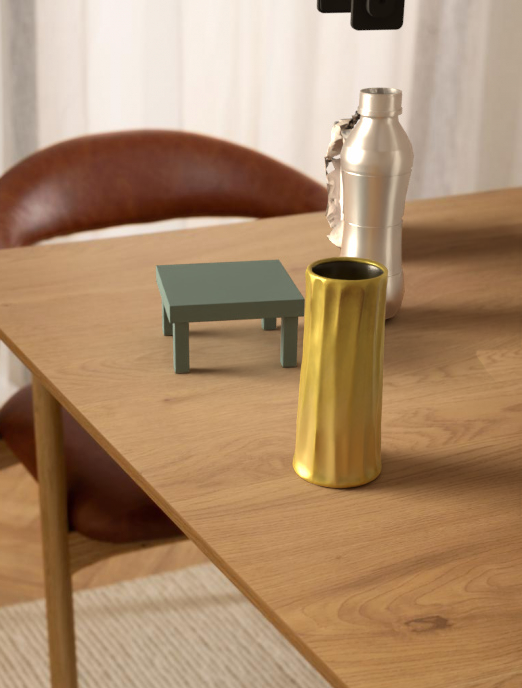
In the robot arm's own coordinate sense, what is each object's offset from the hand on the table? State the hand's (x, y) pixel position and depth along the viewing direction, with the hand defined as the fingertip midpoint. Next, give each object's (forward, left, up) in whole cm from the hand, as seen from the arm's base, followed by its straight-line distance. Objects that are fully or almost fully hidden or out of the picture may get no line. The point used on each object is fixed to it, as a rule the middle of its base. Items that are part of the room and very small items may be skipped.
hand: (357, 20), depth 77 cm
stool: (+6, -15, -28) cm, 32 cm away
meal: (-12, -44, -28) cm, 53 cm away
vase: (+2, +9, -28) cm, 30 cm away
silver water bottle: (-8, -21, -28) cm, 36 cm away
